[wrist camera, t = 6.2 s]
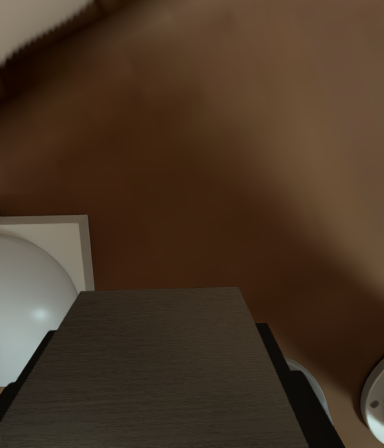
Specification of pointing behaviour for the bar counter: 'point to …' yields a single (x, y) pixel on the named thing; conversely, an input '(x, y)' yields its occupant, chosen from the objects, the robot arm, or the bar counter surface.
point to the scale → (38, 281)
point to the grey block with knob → (154, 377)
